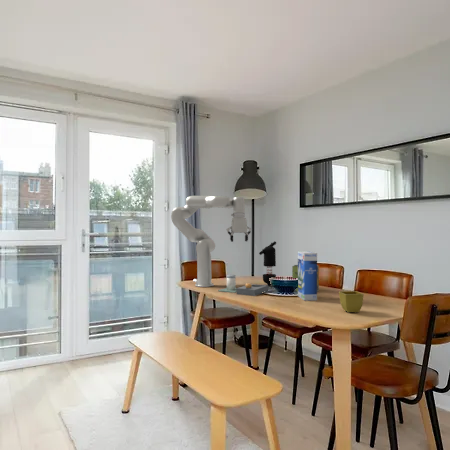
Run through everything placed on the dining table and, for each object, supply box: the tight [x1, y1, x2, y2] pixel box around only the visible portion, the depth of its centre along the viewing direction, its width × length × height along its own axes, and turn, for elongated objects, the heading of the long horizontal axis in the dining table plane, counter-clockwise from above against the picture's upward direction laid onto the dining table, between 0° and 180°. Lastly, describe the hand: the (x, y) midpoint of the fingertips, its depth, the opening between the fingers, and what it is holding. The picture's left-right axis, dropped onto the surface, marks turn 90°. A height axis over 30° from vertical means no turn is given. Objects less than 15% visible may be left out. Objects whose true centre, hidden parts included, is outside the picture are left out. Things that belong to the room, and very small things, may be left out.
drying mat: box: [217, 287, 238, 294], centre depth 241 cm, size 12×12×1 cm
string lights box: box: [297, 250, 318, 302], centre depth 214 cm, size 13×8×26 cm, turn 5°
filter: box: [258, 241, 277, 287], centre depth 258 cm, size 14×9×30 cm
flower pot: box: [338, 290, 365, 313], centre depth 180 cm, size 9×9×9 cm
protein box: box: [291, 264, 320, 293], centre depth 240 cm, size 10×15×16 cm
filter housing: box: [236, 283, 270, 297], centre depth 233 cm, size 12×19×4 cm, turn 148°
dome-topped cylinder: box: [226, 274, 237, 290], centre depth 241 cm, size 6×6×9 cm
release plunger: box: [245, 282, 253, 289], centre depth 228 cm, size 4×4×6 cm
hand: (239, 241), depth 254 cm, fingers open, 9 cm apart
